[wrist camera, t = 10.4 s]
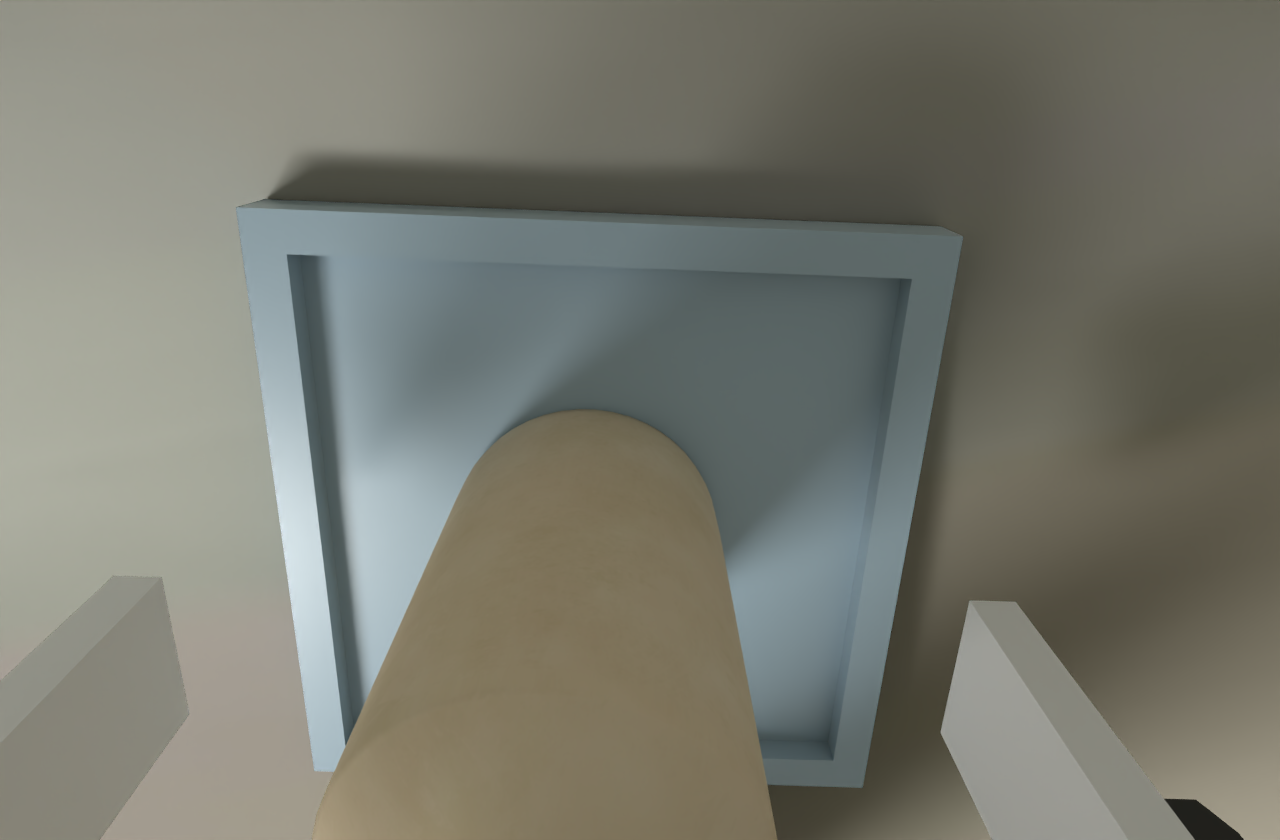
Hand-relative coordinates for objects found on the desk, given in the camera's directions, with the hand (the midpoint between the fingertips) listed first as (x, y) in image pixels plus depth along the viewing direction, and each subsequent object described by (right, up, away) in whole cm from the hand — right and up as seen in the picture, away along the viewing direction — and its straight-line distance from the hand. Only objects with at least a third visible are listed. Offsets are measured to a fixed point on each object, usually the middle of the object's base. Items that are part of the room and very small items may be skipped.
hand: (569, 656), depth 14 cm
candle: (0, +2, +4) cm, 5 cm away
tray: (0, +2, +5) cm, 5 cm away
